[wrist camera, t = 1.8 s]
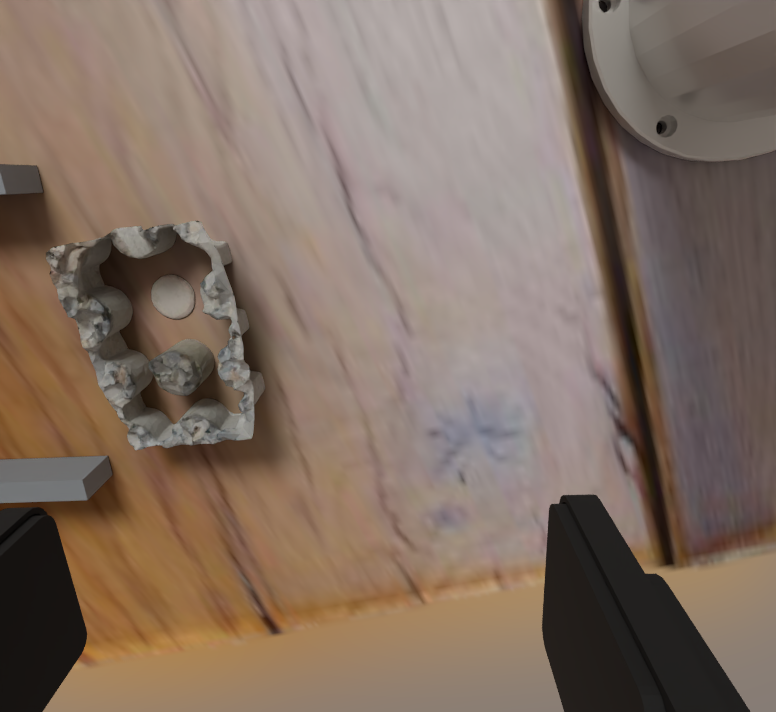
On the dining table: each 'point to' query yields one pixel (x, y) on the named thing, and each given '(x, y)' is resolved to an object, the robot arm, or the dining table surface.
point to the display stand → (45, 474)
